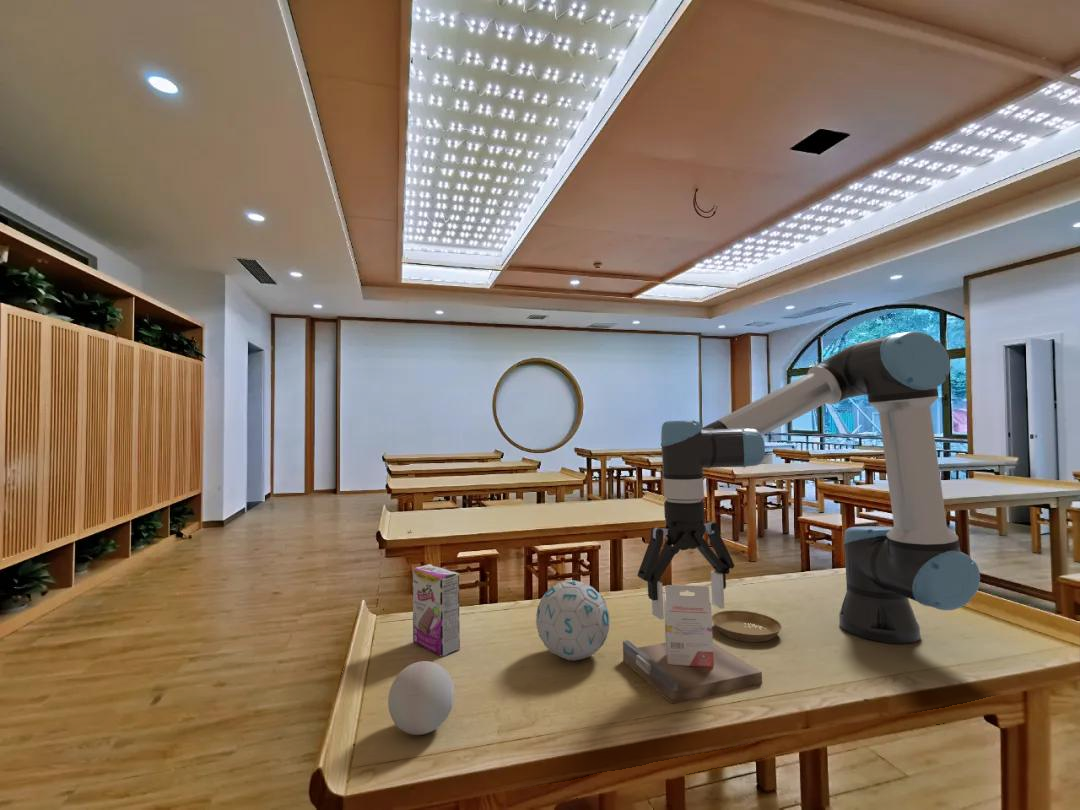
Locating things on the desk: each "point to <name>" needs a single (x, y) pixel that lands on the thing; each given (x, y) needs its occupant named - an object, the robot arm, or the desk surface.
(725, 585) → the robot arm
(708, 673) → the flat brown box
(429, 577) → the candy bar box
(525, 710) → the desk surface
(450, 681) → the grey sphere
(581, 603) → the puzzle ball
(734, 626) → the plant saucer
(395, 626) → the desk surface
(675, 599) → the ink cartridge box
